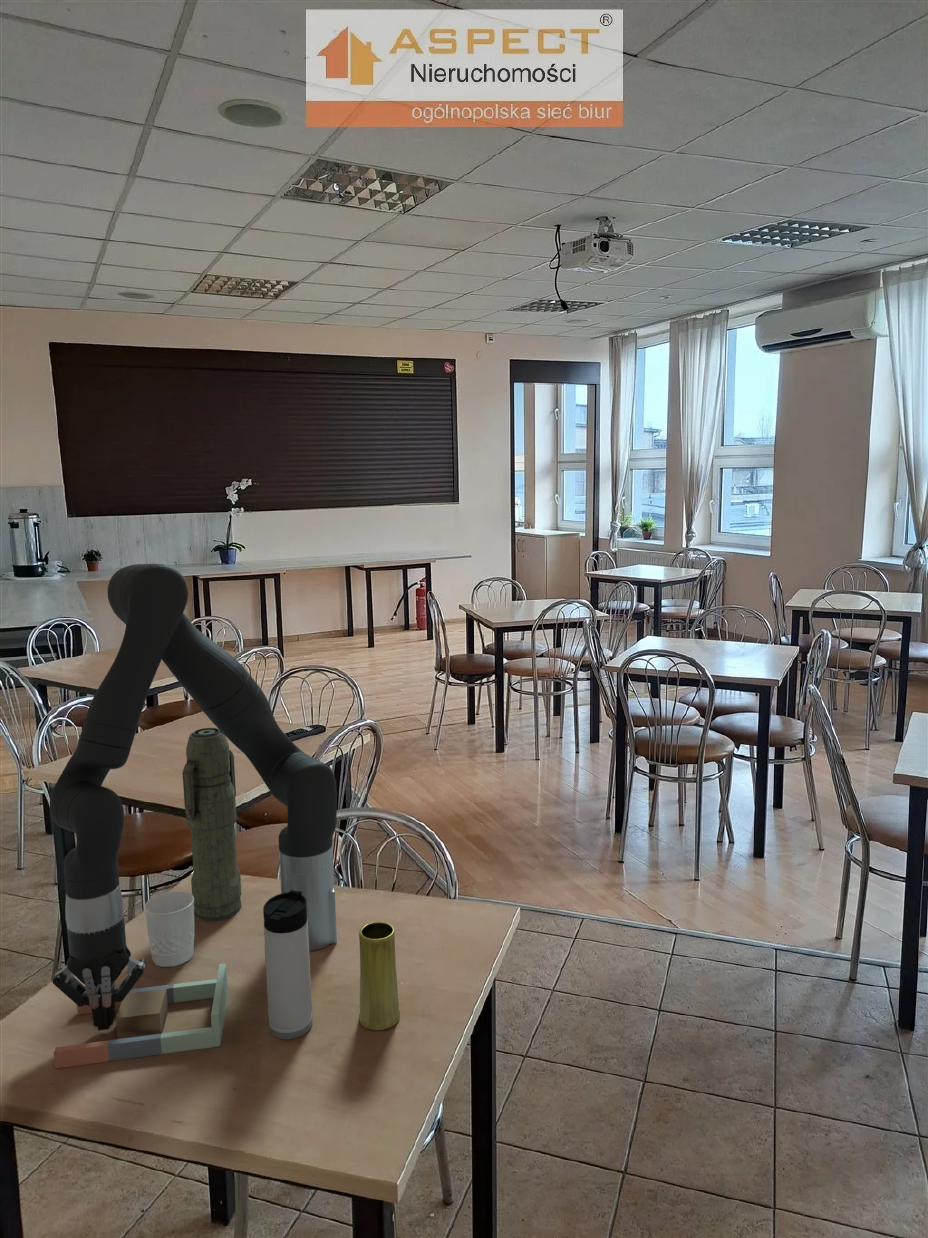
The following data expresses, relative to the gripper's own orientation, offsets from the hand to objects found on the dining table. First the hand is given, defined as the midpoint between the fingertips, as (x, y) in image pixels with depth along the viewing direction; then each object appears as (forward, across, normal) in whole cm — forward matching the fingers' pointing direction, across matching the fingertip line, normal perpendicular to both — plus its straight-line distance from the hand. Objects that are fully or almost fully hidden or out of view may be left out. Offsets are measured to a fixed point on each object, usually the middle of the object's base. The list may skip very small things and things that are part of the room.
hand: (104, 1026), depth 121 cm
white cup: (+1, -7, -19) cm, 20 cm away
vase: (+1, -40, +5) cm, 40 cm away
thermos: (+1, -13, -34) cm, 36 cm away
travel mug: (+1, -27, +4) cm, 27 cm away
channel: (+1, -6, 0) cm, 6 cm away
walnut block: (+1, -5, 0) cm, 5 cm away
